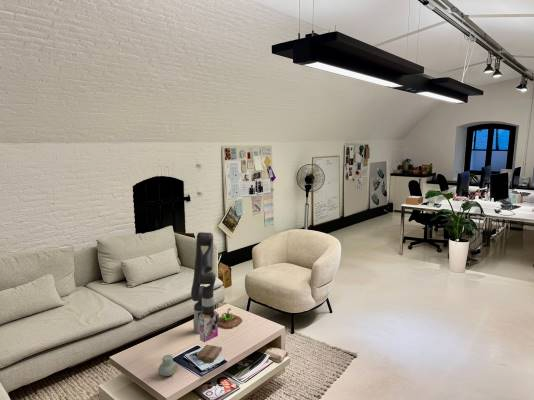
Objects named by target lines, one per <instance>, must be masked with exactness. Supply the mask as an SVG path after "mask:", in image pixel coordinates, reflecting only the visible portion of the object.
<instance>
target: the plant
mask: <svg viewBox="0 0 534 400" xmlns="http://www.w3.org/2000/svg"><path fill="white" fill-rule="evenodd" d="M231 310H232V308H231V307H229V308H228V309H227V312H224V313H222V314H221V316H219V322H218V328H222V329H225V330H232V329H234V328H237V327H238V326H240V325H241V324H242V323H243V318H241V316H238V315H236V314H234V313H229V312H230V311H231Z"/></svg>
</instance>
